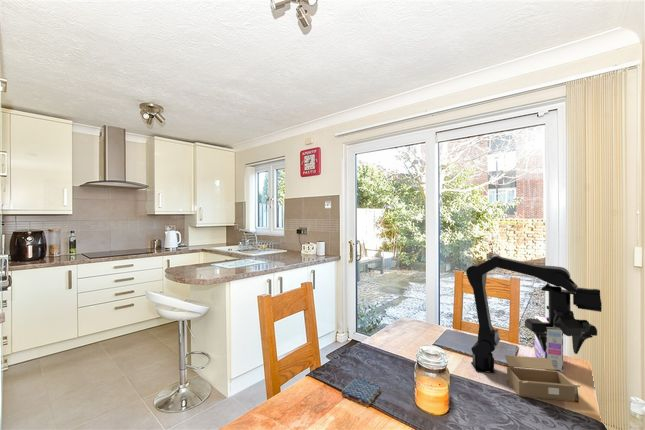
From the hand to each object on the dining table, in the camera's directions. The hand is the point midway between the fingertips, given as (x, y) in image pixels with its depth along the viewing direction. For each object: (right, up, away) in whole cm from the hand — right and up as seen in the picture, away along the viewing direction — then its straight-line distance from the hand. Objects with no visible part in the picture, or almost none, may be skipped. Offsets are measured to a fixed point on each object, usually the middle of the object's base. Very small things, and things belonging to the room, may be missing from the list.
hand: (559, 352), depth 99 cm
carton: (-6, -13, +1) cm, 15 cm away
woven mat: (-66, -14, 0) cm, 68 cm away
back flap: (-5, -7, +7) cm, 11 cm away
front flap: (-8, -7, -6) cm, 12 cm away
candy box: (+11, -13, +19) cm, 26 cm away
